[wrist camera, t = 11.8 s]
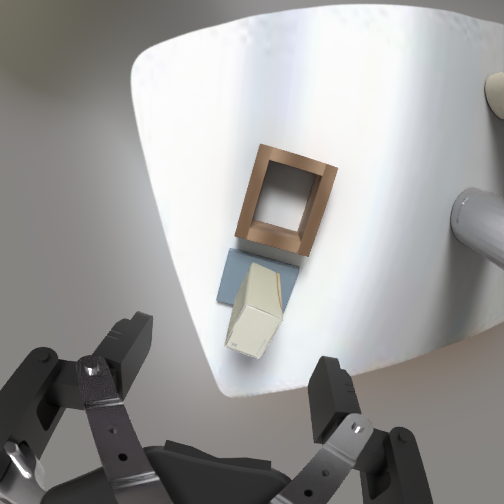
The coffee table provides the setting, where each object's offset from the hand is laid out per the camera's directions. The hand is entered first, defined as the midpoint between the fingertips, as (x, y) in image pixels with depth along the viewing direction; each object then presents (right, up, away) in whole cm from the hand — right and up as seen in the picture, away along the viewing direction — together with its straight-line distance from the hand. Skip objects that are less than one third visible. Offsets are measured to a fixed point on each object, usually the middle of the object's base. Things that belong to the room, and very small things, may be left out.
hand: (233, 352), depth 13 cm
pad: (+1, 0, +30) cm, 30 cm away
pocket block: (+5, +12, +26) cm, 29 cm away
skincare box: (+1, 0, +29) cm, 29 cm away
